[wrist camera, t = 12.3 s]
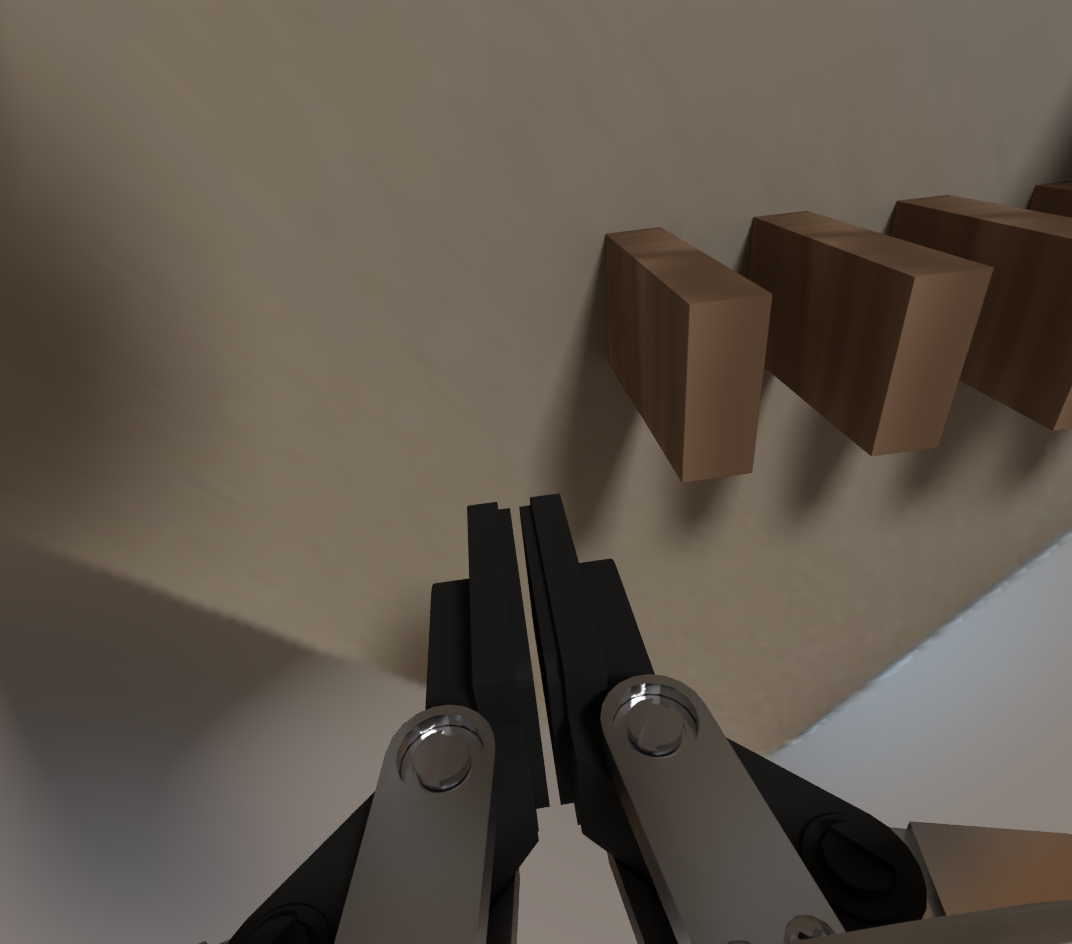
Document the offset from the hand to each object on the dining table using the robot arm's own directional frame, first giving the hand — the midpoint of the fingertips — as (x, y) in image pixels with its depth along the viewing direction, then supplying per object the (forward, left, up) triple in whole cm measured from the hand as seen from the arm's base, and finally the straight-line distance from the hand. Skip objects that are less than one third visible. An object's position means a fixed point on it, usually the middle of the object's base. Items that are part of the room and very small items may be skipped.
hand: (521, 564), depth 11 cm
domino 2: (+11, 0, -14) cm, 18 cm away
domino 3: (+17, 0, -14) cm, 22 cm away
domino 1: (+6, 0, -14) cm, 15 cm away
